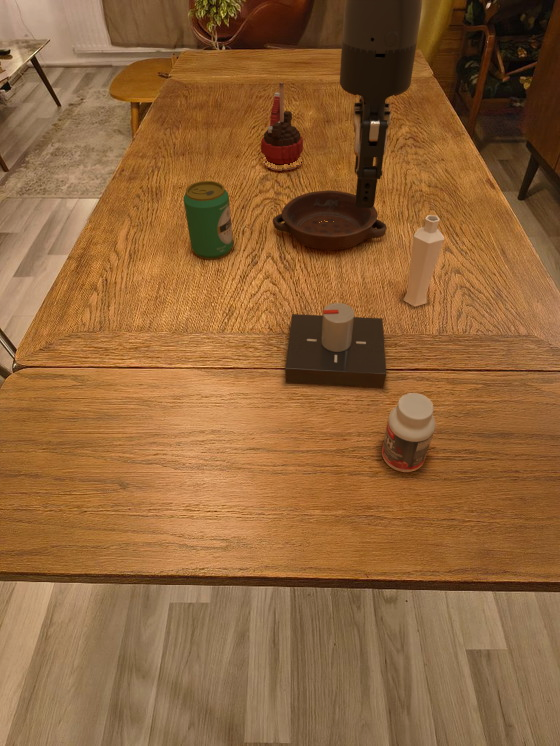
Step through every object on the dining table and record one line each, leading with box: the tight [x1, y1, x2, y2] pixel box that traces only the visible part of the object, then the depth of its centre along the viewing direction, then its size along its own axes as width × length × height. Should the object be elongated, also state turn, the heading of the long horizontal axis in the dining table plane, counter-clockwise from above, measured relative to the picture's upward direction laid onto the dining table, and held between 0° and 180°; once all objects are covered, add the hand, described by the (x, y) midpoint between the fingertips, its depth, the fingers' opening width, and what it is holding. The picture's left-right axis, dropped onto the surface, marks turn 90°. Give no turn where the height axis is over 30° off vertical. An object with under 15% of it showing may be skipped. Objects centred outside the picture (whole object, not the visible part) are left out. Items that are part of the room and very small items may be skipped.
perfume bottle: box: [402, 214, 446, 308], centre depth 81 cm, size 5×4×15 cm
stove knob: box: [321, 302, 355, 352], centre depth 73 cm, size 4×4×6 cm
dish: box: [272, 189, 387, 251], centre depth 100 cm, size 18×22×5 cm
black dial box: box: [284, 313, 387, 389], centre depth 76 cm, size 14×12×3 cm
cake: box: [260, 81, 304, 172], centre depth 118 cm, size 11×9×18 cm
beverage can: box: [182, 180, 234, 260], centre depth 94 cm, size 8×8×12 cm
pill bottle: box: [381, 392, 436, 473], centre depth 61 cm, size 5×5×10 cm
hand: (363, 189), depth 64 cm, fingers open, 8 cm apart
